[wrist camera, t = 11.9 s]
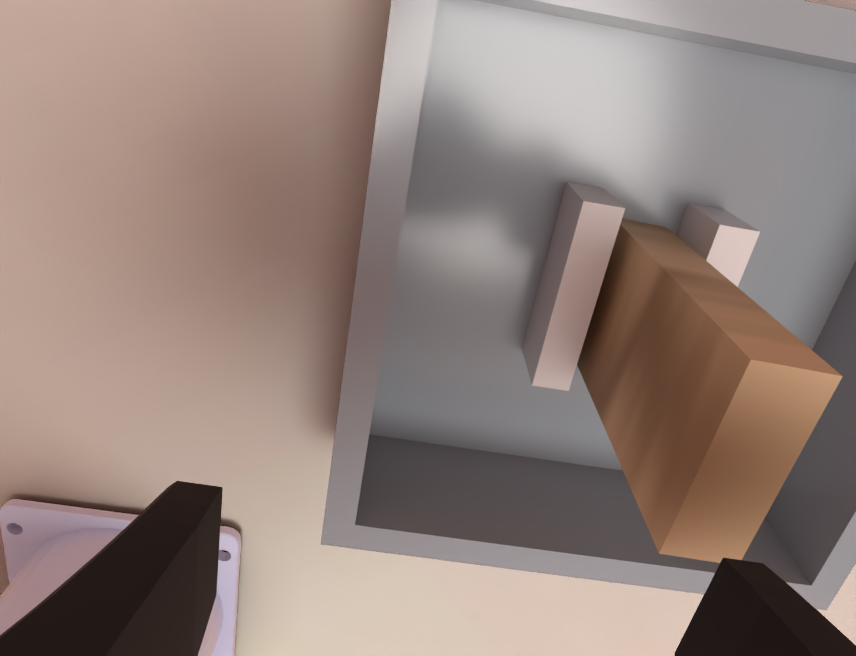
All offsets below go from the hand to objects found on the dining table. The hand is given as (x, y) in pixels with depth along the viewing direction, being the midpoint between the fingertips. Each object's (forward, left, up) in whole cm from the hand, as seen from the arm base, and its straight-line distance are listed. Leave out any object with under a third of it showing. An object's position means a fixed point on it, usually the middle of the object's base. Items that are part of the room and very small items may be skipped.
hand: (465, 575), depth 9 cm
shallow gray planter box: (+1, -5, -10) cm, 11 cm away
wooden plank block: (+1, -5, -10) cm, 11 cm away
